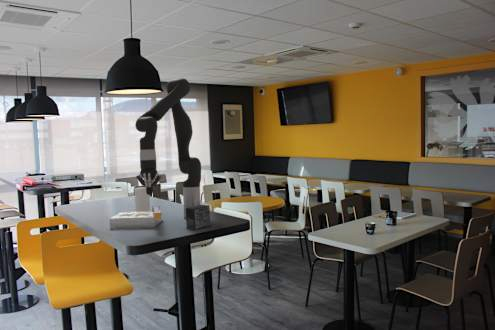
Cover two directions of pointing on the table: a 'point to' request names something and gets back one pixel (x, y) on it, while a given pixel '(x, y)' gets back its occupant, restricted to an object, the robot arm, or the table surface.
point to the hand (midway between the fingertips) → (149, 194)
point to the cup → (141, 200)
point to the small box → (198, 217)
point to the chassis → (134, 220)
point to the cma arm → (156, 212)
